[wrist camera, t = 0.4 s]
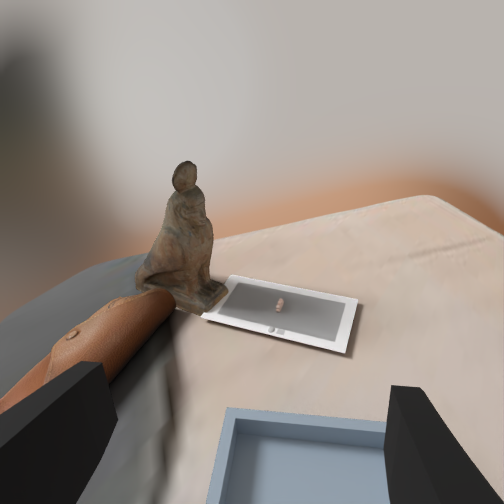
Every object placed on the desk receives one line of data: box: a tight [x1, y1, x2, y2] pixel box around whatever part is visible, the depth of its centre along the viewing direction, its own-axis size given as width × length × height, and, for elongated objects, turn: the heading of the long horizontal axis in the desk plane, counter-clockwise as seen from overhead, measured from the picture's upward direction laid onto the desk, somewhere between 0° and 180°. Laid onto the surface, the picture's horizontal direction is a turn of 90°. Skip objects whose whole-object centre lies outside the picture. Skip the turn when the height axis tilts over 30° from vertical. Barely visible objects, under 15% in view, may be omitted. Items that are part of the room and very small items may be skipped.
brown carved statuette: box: [135, 161, 229, 316], centre depth 39 cm, size 12×6×18 cm, turn 52°
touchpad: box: [200, 274, 358, 353], centre depth 40 cm, size 8×15×2 cm, turn 68°
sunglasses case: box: [0, 288, 176, 414], centre depth 35 cm, size 18×7×7 cm
